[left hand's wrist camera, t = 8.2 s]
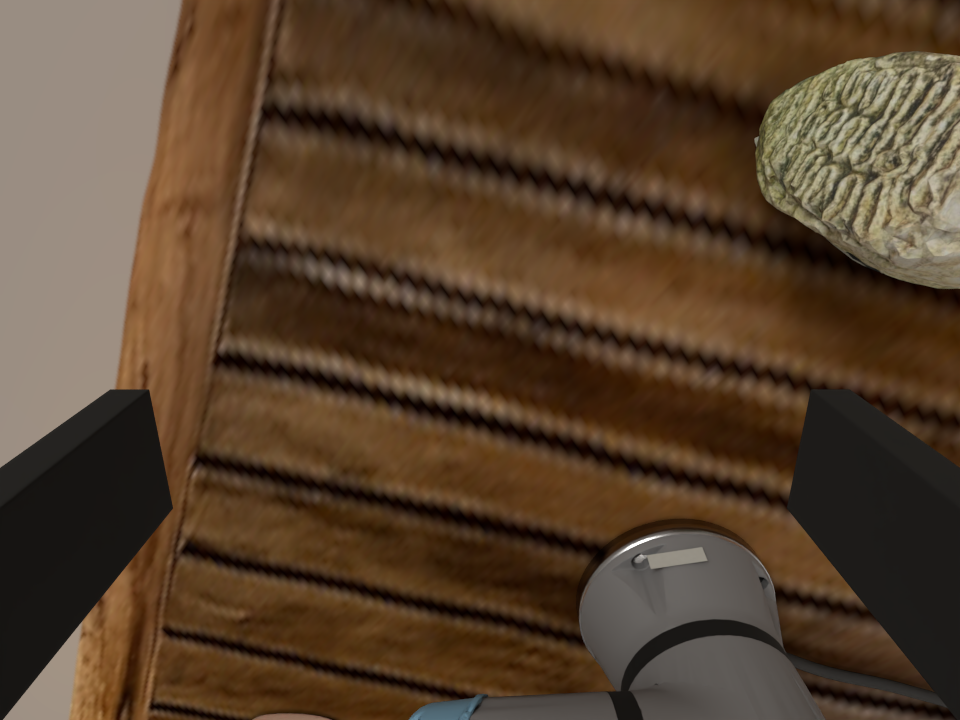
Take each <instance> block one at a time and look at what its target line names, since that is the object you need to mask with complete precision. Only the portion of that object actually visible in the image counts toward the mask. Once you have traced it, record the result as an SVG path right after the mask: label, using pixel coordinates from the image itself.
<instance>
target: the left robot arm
mask: <svg viewBox="0 0 960 720" xmlns="http://www.w3.org/2000/svg"><path fill="white" fill-rule="evenodd" d="M172 509H173V506H172V501H171V496H170V491H169V486H168V481H167V476H166V471H165V466H164V462H163V457H162V452H161V447H160V442H159V437H158V432H157V427H156V422H155V417H154V412H153V407H152V402H151V397H150V392H149V390H109V391H108V392H106V393H105V394H103V395H102V396H101V397H99V398H98V399H96V400H95V401H94V402H92V403H91V404H89V405H88V406H87V407H85V408H84V409H82V410H81V411H80V412H78V413H77V414H75V415H74V416H73V417H71V418H70V419H68V420H67V421H66V422H64V423H63V424H61V425H60V426H58V427H57V428H56V429H54V430H53V431H52V432H50V433H49V434H47V435H46V436H44V437H43V438H42V439H40V440H39V441H37V442H36V443H35V444H33V445H32V446H30V447H29V448H28V449H26V450H25V451H23V452H22V453H21V454H19V455H18V456H16V457H15V458H13V459H12V460H11V461H9V462H8V463H7V464H5V465H4V466H2V467H1V468H0V720H3V719H4V718H5V716H6V715H7V714H8V713H9V711H10V710H11V709H12V708H13V706H14V705H15V704H16V703H17V701H18V700H19V699H20V698H21V696H22V695H23V694H24V693H25V692H26V690H27V689H28V688H29V686H30V685H31V684H32V683H33V682H34V680H35V679H36V678H37V677H38V675H39V674H40V673H41V672H42V670H43V669H44V668H45V667H46V665H47V664H48V663H49V662H50V660H51V659H52V658H53V657H54V655H55V654H56V653H57V652H58V651H59V649H60V648H61V647H62V645H63V644H64V643H65V642H66V641H67V639H68V638H69V637H70V636H71V634H72V633H73V632H74V631H75V629H76V628H77V627H78V626H79V624H80V623H81V622H82V621H83V619H84V618H85V617H86V616H87V614H88V613H89V612H90V611H91V609H92V608H93V607H94V606H95V605H96V603H97V602H98V601H99V600H100V598H101V597H102V596H103V595H104V593H105V592H106V591H107V590H108V588H109V587H110V586H111V585H112V583H113V582H114V581H115V580H116V578H117V577H118V576H119V575H120V573H121V572H122V571H123V570H124V568H125V567H126V566H127V565H128V564H129V562H130V561H131V560H132V559H133V557H134V556H135V555H136V554H137V552H138V551H139V550H140V549H141V547H142V546H143V545H144V544H145V542H146V541H147V540H148V539H149V537H150V536H151V535H152V534H153V532H154V531H155V530H156V529H157V527H158V526H159V525H160V524H161V523H162V521H163V520H164V519H165V518H166V516H167V515H168V514H169V513H170V511H171V510H172ZM787 509H788V510H789V511H790V513H791V514H792V515H793V516H794V518H795V519H796V520H797V521H798V523H799V524H800V525H801V526H802V527H803V529H804V530H805V531H806V532H807V534H808V535H809V536H810V537H811V539H812V540H813V541H814V542H815V544H816V545H817V546H818V547H819V549H820V550H821V551H822V552H823V554H824V555H825V556H826V557H827V559H828V560H829V561H830V562H831V564H832V565H833V566H834V567H835V568H836V570H837V571H838V572H839V573H840V575H841V576H842V577H843V578H844V580H845V581H846V582H847V583H848V585H849V586H850V587H851V588H852V590H853V591H854V592H855V593H856V595H857V596H858V597H859V598H860V600H861V601H862V602H863V603H864V605H865V606H866V607H867V608H868V609H869V611H870V612H871V613H872V614H873V616H874V617H875V618H876V619H877V621H878V622H879V623H880V624H881V626H882V627H883V628H884V629H885V631H886V632H887V633H888V634H889V636H890V637H891V638H892V639H893V641H894V642H895V643H896V644H897V646H898V647H899V648H900V649H901V651H902V652H903V653H904V654H905V655H906V657H907V658H908V659H909V660H910V662H911V663H912V664H913V665H914V667H915V668H916V669H917V670H918V672H919V673H920V674H921V675H922V677H923V678H924V679H925V680H926V682H927V683H928V684H929V685H930V687H931V688H932V689H933V690H934V692H932V691H929V690H925V689H921V688H917V687H914V686H910V685H907V684H903V683H900V682H896V681H892V680H888V679H884V678H879V677H875V676H870V675H865V674H860V673H855V672H850V671H845V670H840V669H836V668H832V667H828V666H824V665H821V664H817V663H814V662H811V661H808V660H806V659H803V658H800V657H798V656H795V655H792V654H789V653H787V652H785V650H784V648H783V643H782V636H781V630H780V624H779V617H778V611H777V605H776V598H775V591H774V586H773V583H772V581H771V578H770V576H769V574H768V572H767V571H766V569H765V567H764V566H763V564H762V563H761V561H760V560H759V558H758V557H757V555H756V554H755V552H754V551H753V549H752V548H751V547H750V546H749V545H748V544H747V543H746V542H745V541H744V540H743V539H742V538H740V537H739V536H738V535H736V534H735V533H733V532H731V531H730V530H728V529H726V528H723V527H721V526H719V525H716V524H713V523H709V522H705V521H700V520H693V519H670V520H662V521H656V522H652V523H648V524H645V525H642V526H639V527H636V528H634V529H632V530H629V531H627V532H625V533H624V534H622V535H620V536H618V537H617V538H615V539H614V540H612V541H611V542H610V543H608V544H607V545H606V546H605V547H603V548H602V549H601V550H600V551H599V552H598V553H597V554H596V556H595V557H594V558H593V559H592V560H591V562H590V563H589V565H588V566H587V568H586V569H585V571H584V573H583V575H582V578H581V580H580V583H579V586H578V590H577V596H576V608H577V615H578V620H579V625H580V630H581V635H582V638H583V641H584V643H585V645H586V647H587V649H588V650H589V652H590V654H591V655H592V656H593V657H594V659H595V660H596V661H597V662H598V664H599V665H600V666H601V668H602V669H603V671H604V673H605V674H606V676H607V677H608V679H609V681H610V682H611V684H612V685H613V687H614V688H615V690H616V691H614V692H587V693H567V694H547V695H527V696H507V697H488V695H487V694H479V695H477V696H475V697H474V698H471V699H462V700H453V701H444V702H435V703H430V704H427V705H425V706H423V707H421V708H420V709H419V710H417V711H416V712H415V713H414V714H413V715H412V716H411V718H410V719H409V720H826V719H825V718H824V716H823V714H822V712H821V711H820V709H819V707H818V706H817V704H816V702H815V701H814V699H813V697H812V696H811V694H810V692H809V691H808V689H807V687H806V685H805V684H804V682H803V680H802V679H801V677H800V675H799V674H798V672H797V670H796V669H795V668H798V669H800V670H803V671H806V672H809V673H811V674H815V675H818V676H821V677H825V678H828V679H832V680H837V681H841V682H845V683H850V684H855V685H860V686H866V687H871V688H876V689H880V690H885V691H889V692H893V693H897V694H901V695H904V696H908V697H911V698H915V699H919V700H922V701H926V702H930V703H933V704H937V705H940V706H943V707H946V708H948V709H949V710H950V711H951V713H952V714H953V715H954V716H955V718H956V719H957V720H960V468H959V467H958V466H956V465H955V464H954V463H952V462H951V461H949V460H948V459H947V458H945V457H944V456H942V455H941V454H940V453H938V452H937V451H935V450H934V449H932V448H931V447H930V446H928V445H927V444H925V443H924V442H923V441H921V440H920V439H918V438H917V437H916V436H914V435H913V434H911V433H910V432H909V431H907V430H906V429H904V428H903V427H902V426H900V425H899V424H897V423H896V422H894V421H893V420H892V419H890V418H889V417H887V416H886V415H885V414H883V413H882V412H880V411H879V410H878V409H876V408H875V407H873V406H872V405H871V404H869V403H868V402H866V401H865V400H864V399H862V398H861V397H859V396H858V395H857V394H855V393H854V392H852V391H851V390H811V392H810V397H809V402H808V407H807V412H806V417H805V422H804V427H803V432H802V437H801V442H800V447H799V452H798V457H797V462H796V466H795V471H794V476H793V481H792V486H791V491H790V496H789V501H788V506H787Z"/></svg>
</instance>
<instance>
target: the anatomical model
mask: <svg viewBox="0 0 960 720" xmlns="http://www.w3.org/2000/svg"><path fill="white" fill-rule="evenodd" d="M253 720H331V719H329V718H325V717H321V716H315V715H308V714H294V713H278V714H266V715H262V716H258V717H256V718H254V719H253Z"/></svg>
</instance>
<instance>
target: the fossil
mask: <svg viewBox="0 0 960 720" xmlns="http://www.w3.org/2000/svg"><path fill="white" fill-rule="evenodd" d="M759 135H760V136H759V137H757V138H755V144H756V152H755V155H756V169H757V180H758V183H759V186H760V189H761V192H762V194H763V196H764V198H765V199H766V200H767V201H768V202H769V203H770V204H771V205H773V206H774V207H775V208H776V209H778V210H780V211H781V212H783V213H785V214H787V215H789V216H791V217H793V218H796V219H797V220H798V221H800V222H801V223H802V224H804V225H805V226H807V227H808V228H810V229H812V230H814V231H815V232H816V233H819V234H821V235H822V236H824V237H825V238H826V239H827V240H828V241H830V242H831V243H832V244H833V245H834V246H835V247H837V248H838V249H839V250H841V251H842V252H843V253H845V254H846V255H847V256H848V257H850V258H851V259H852V260H854V261H856V262H858V263H860V264H861V265H863V266H866V267H868V268H870V269H872V270H875V271H878V272H881V273H884V274H886V275H888V276H891V277H894V278H896V279H899V280H903V281H907V282H910V283H914V284H921V285H925V286H930V287H934V288H940V289H952V288H958V289H960V56H955V55H947V54H936V53H928V52H920V51H915V52H899V53H892V54H889V55H886V56H882V57H878V58H874V57H870V58H866V59H860V58H859V59H855V60H851V61H847V62H846V63H844V64H840V65H837V66H836V67H832V68H830V69H828V70H826V71H824V72H822V73H820V74H818V75H815V76H812V77H809V78H807V79H805V80H803V81H801V82H799V83H797V84H796V85H795V86H794V87H792V88H791V89H787V90H785V91H784V92H783V93H782V94H781V95H779V96H778V97H777V98H775V99H774V100H773V101H772V102H771V103H770V105H769V107H768V109H767V111H766V114H765V116H764V119H763V121H762V124H761V126H760V129H759Z"/></svg>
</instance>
